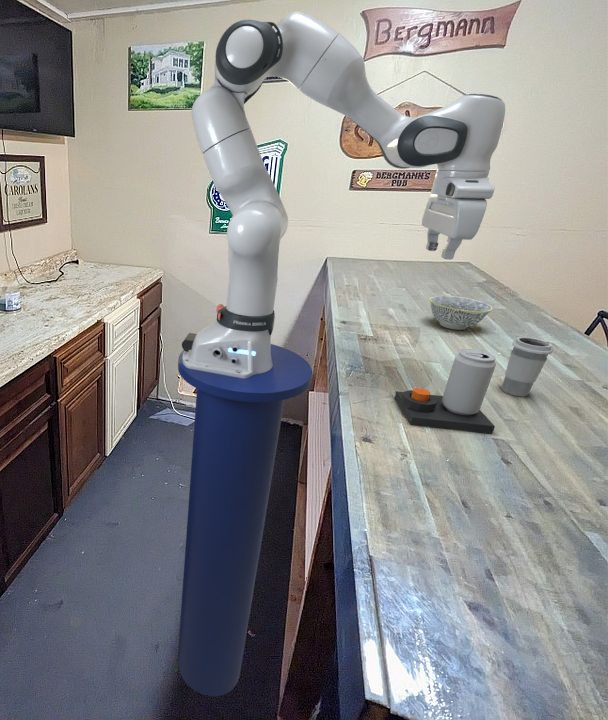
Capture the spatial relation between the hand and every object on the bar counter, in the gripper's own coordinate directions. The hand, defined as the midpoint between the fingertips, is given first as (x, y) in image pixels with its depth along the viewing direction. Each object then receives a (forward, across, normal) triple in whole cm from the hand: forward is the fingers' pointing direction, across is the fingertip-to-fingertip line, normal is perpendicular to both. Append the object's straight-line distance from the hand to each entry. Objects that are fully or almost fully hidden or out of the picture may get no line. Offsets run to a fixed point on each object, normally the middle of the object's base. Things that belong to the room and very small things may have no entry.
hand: (438, 254), depth 99 cm
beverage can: (+27, +20, +4) cm, 34 cm away
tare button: (+25, +20, -3) cm, 32 cm away
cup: (+29, +4, +21) cm, 36 cm away
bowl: (+29, -40, +24) cm, 55 cm away
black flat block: (+28, +20, +1) cm, 35 cm away
